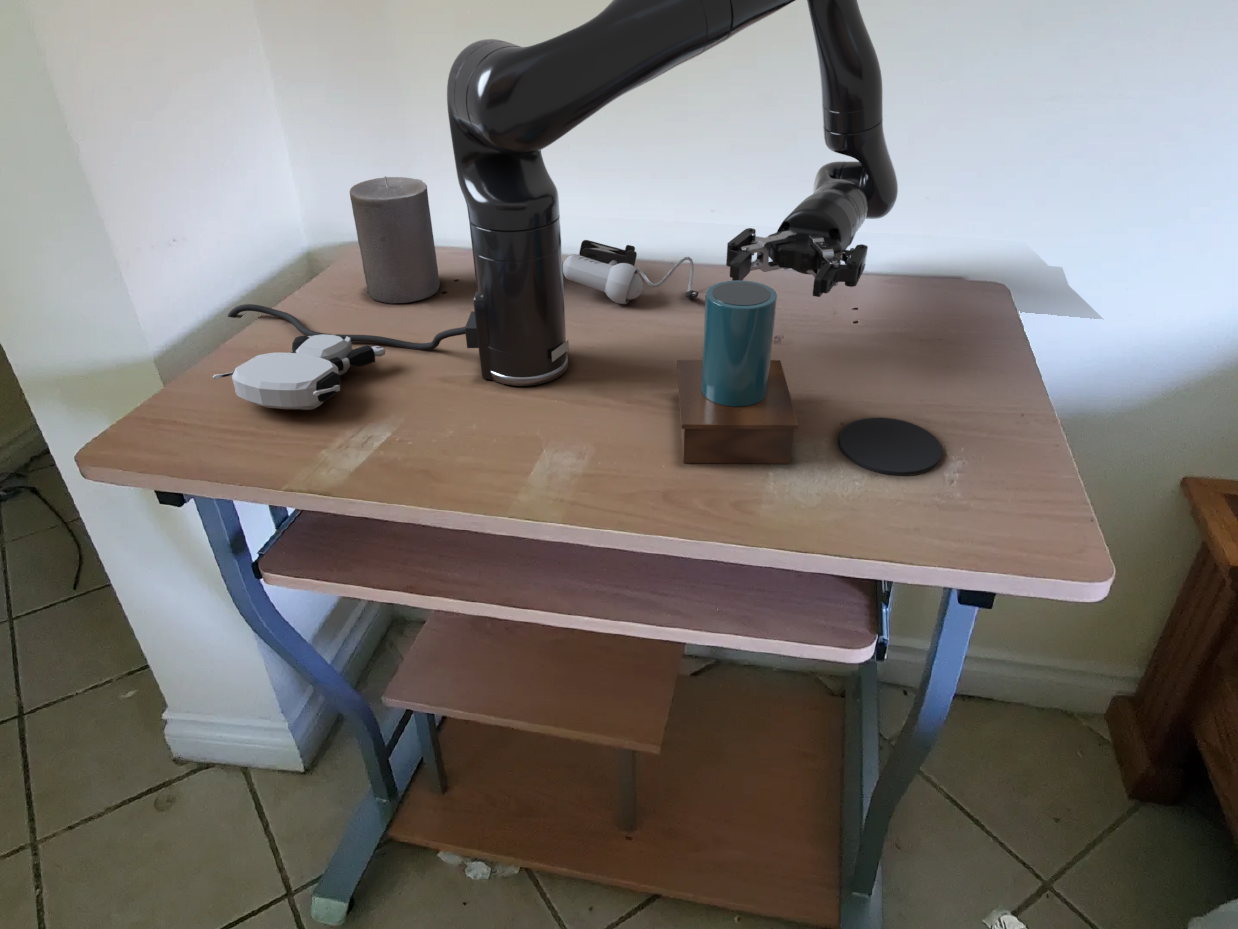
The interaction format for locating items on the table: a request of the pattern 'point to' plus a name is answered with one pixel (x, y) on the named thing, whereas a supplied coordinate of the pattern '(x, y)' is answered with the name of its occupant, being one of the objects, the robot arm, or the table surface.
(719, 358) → the tumbler
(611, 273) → the clip-on lamp
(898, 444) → the coaster
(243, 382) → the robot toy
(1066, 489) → the table surface
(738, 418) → the riser
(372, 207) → the pillar candle
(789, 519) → the table surface
